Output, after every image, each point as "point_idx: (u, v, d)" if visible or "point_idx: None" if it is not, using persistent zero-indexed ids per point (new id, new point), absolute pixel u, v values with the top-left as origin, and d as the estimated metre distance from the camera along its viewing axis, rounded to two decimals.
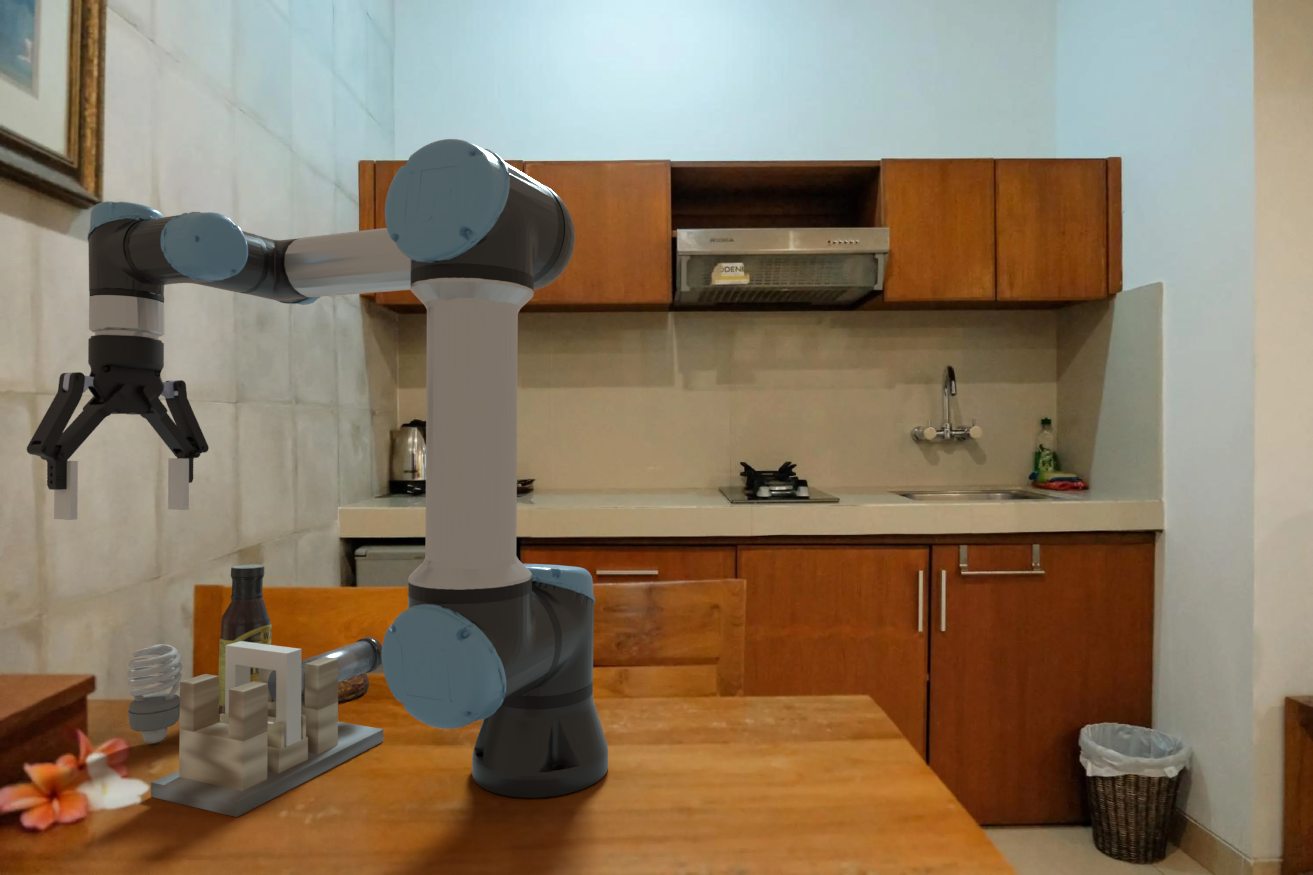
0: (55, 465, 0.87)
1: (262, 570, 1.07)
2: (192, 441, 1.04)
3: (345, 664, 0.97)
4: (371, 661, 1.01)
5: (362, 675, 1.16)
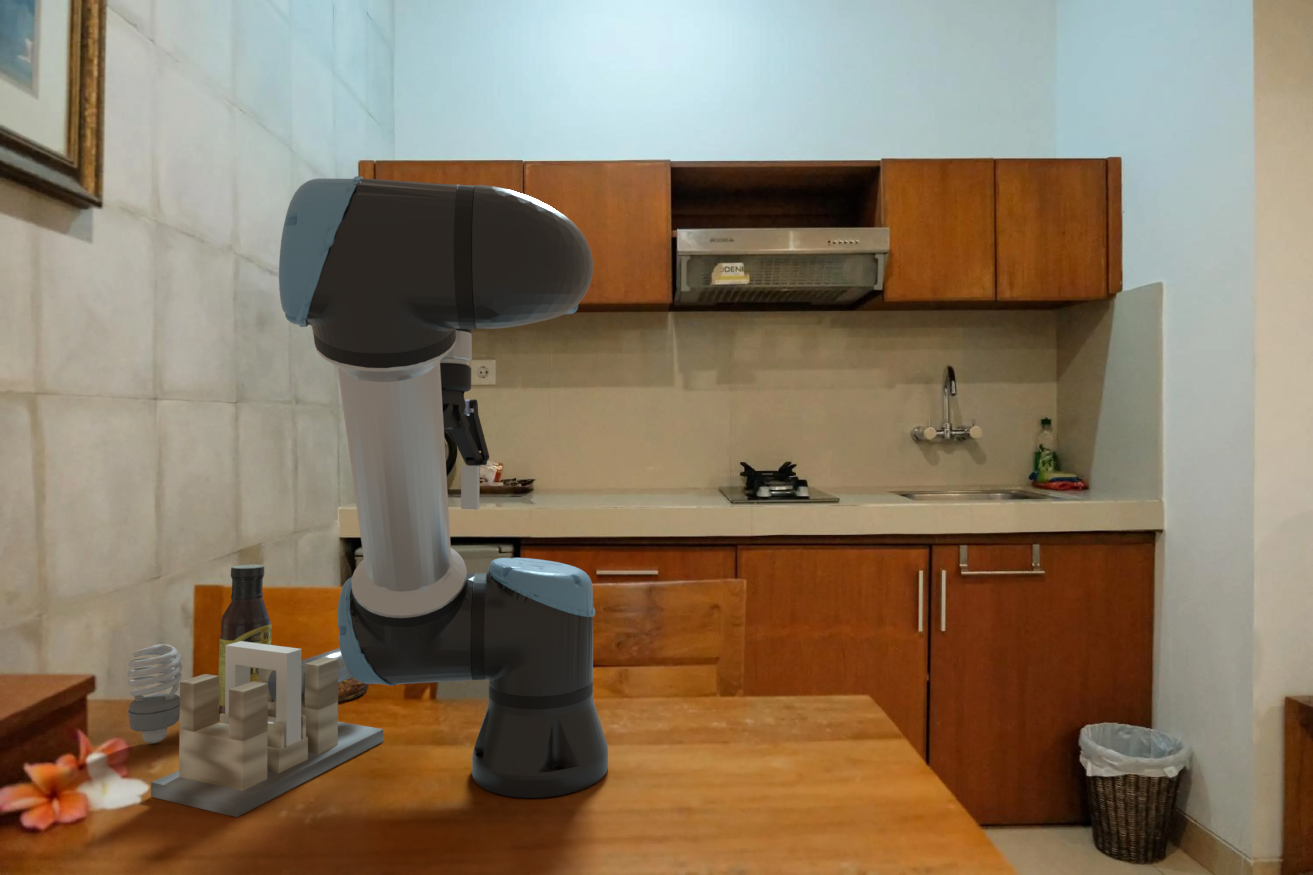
0: None
1: (262, 570, 1.07)
2: None
3: None
4: None
5: None
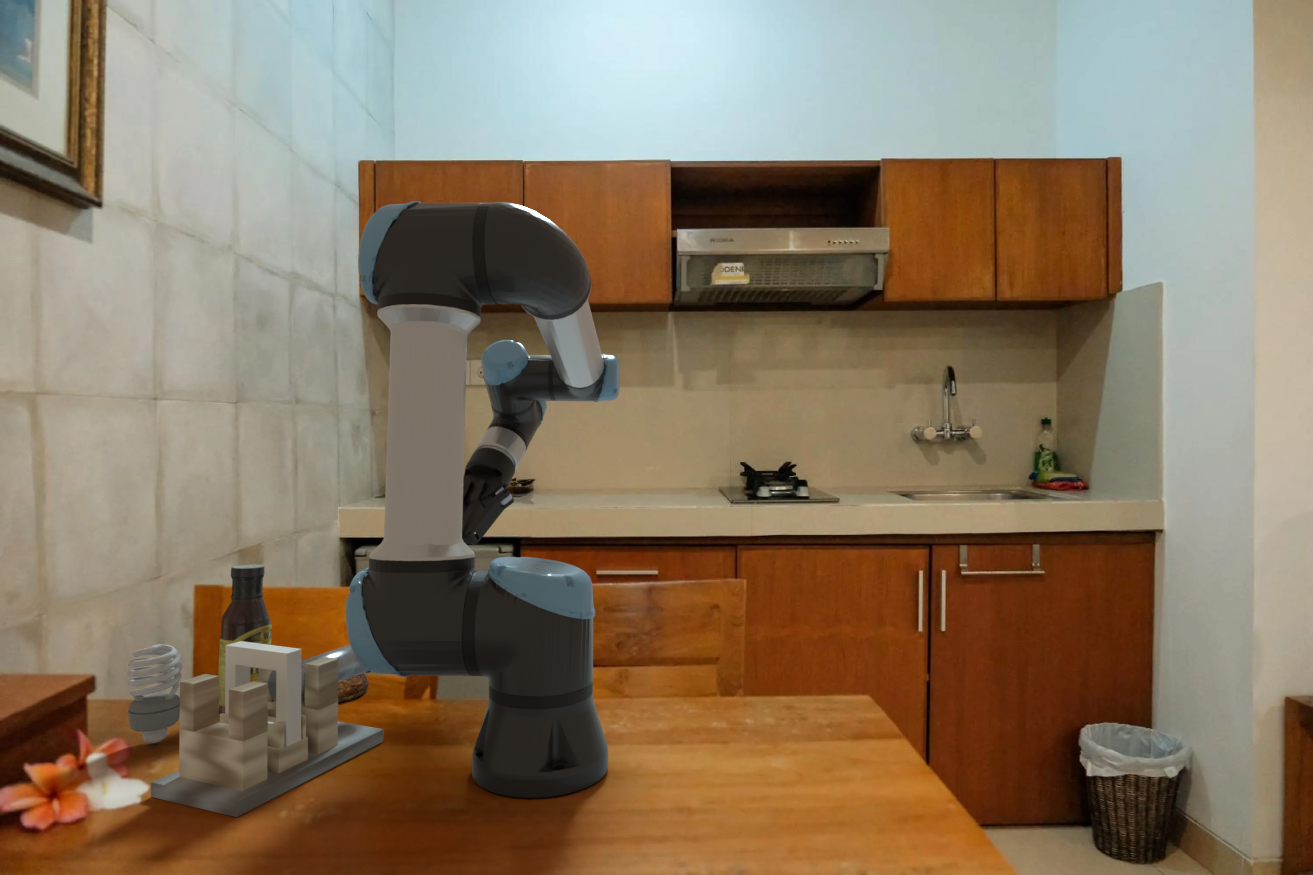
0: None
1: (262, 570, 1.07)
2: (478, 536, 1.20)
3: (345, 664, 0.97)
4: None
5: (361, 676, 1.16)
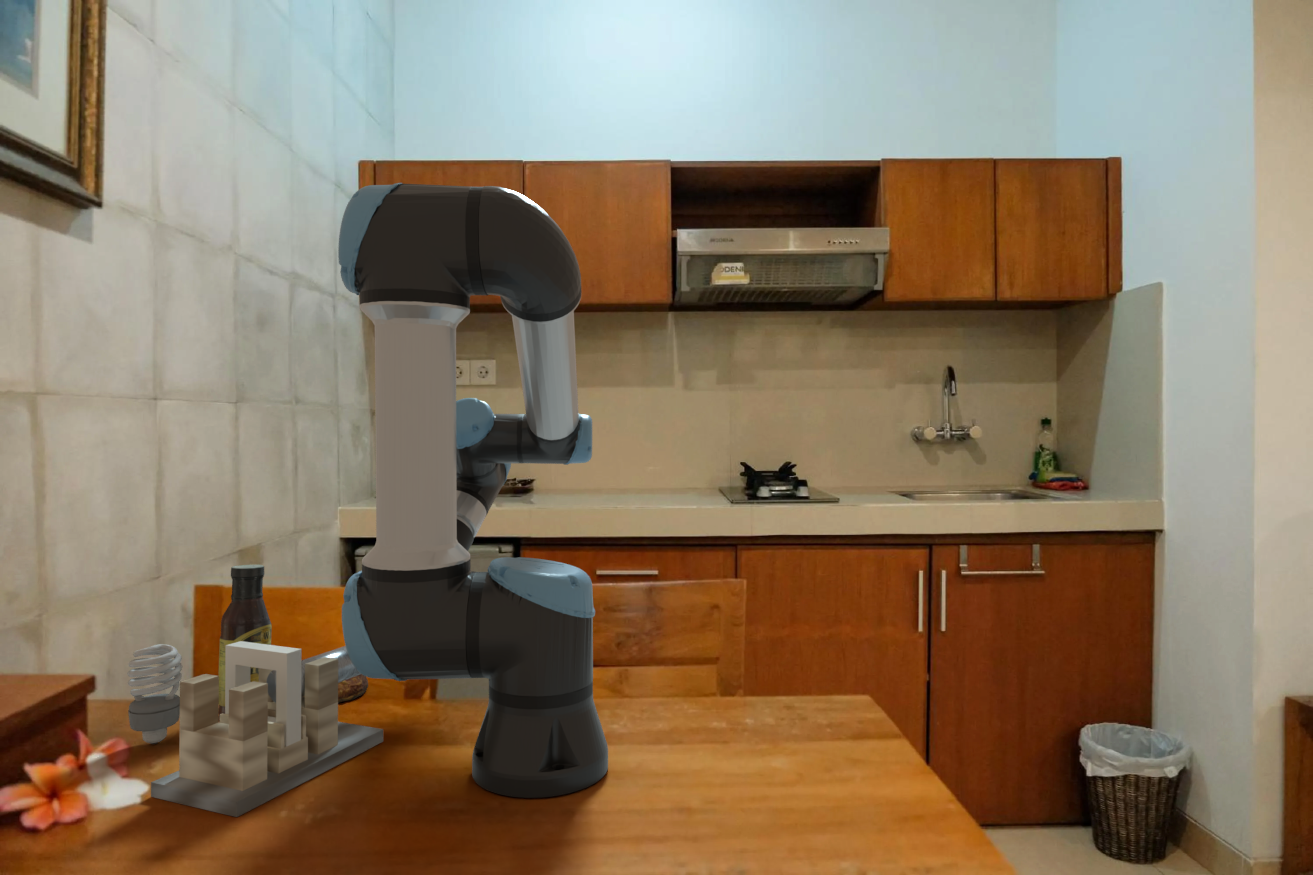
0: None
1: (262, 570, 1.07)
2: None
3: (344, 664, 0.97)
4: None
5: (361, 676, 1.16)
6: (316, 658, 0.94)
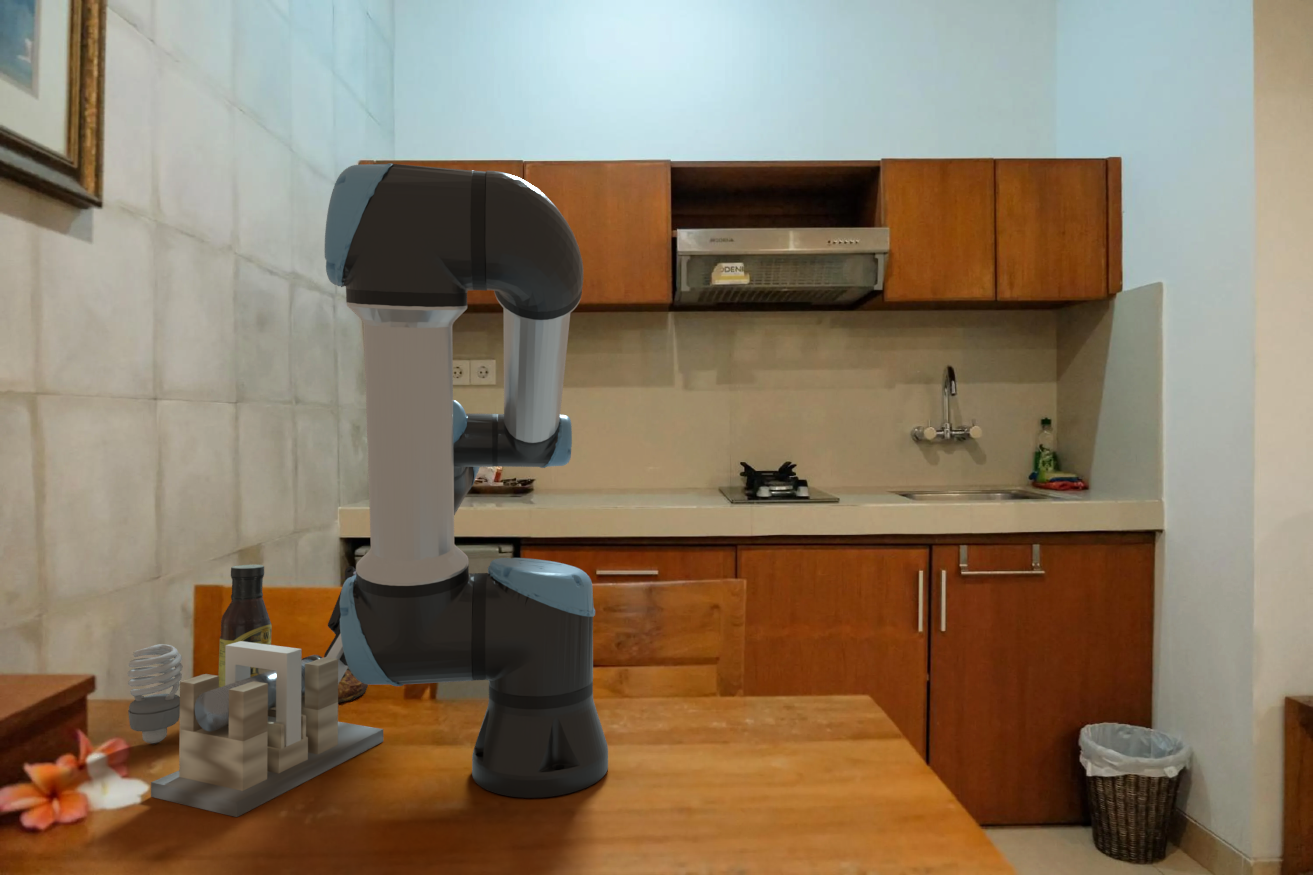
0: (334, 638, 1.00)
1: (262, 570, 1.07)
2: None
3: None
4: None
5: None
6: (252, 679, 0.86)
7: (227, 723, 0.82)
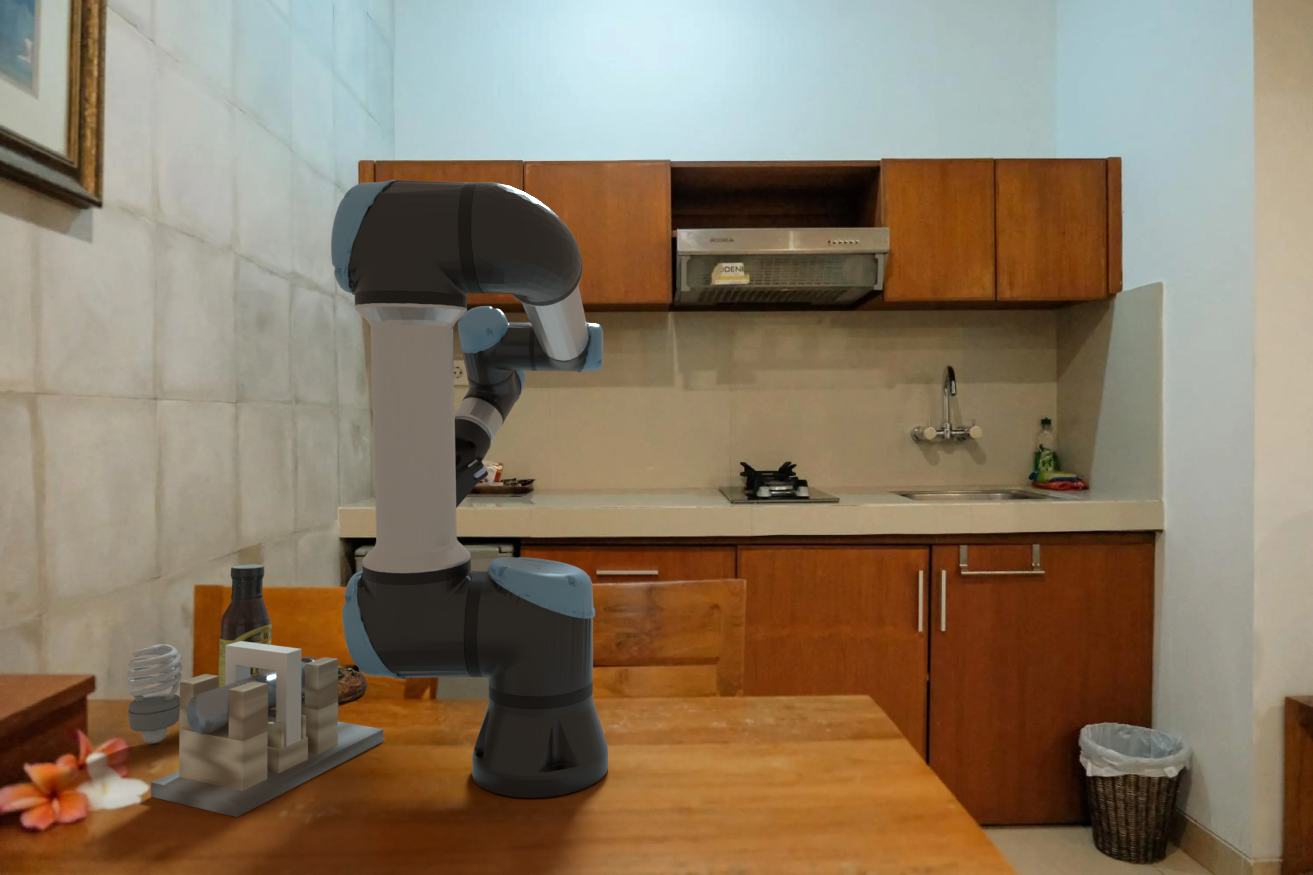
0: None
1: (262, 570, 1.07)
2: None
3: None
4: None
5: (360, 677, 1.15)
6: (245, 682, 0.85)
7: (219, 726, 0.81)
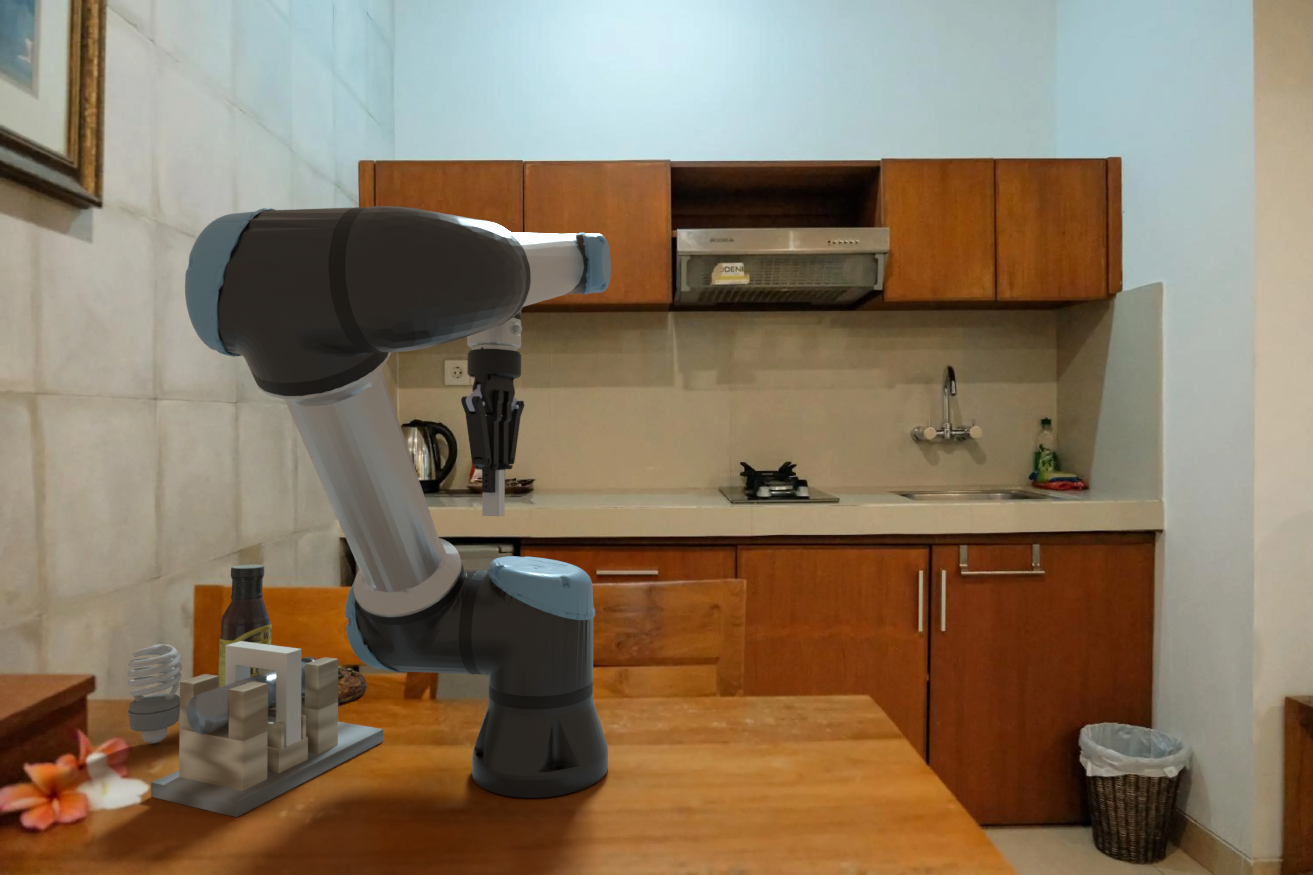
0: None
1: (262, 570, 1.07)
2: None
3: None
4: None
5: (359, 677, 1.15)
6: (245, 682, 0.85)
7: (219, 726, 0.81)
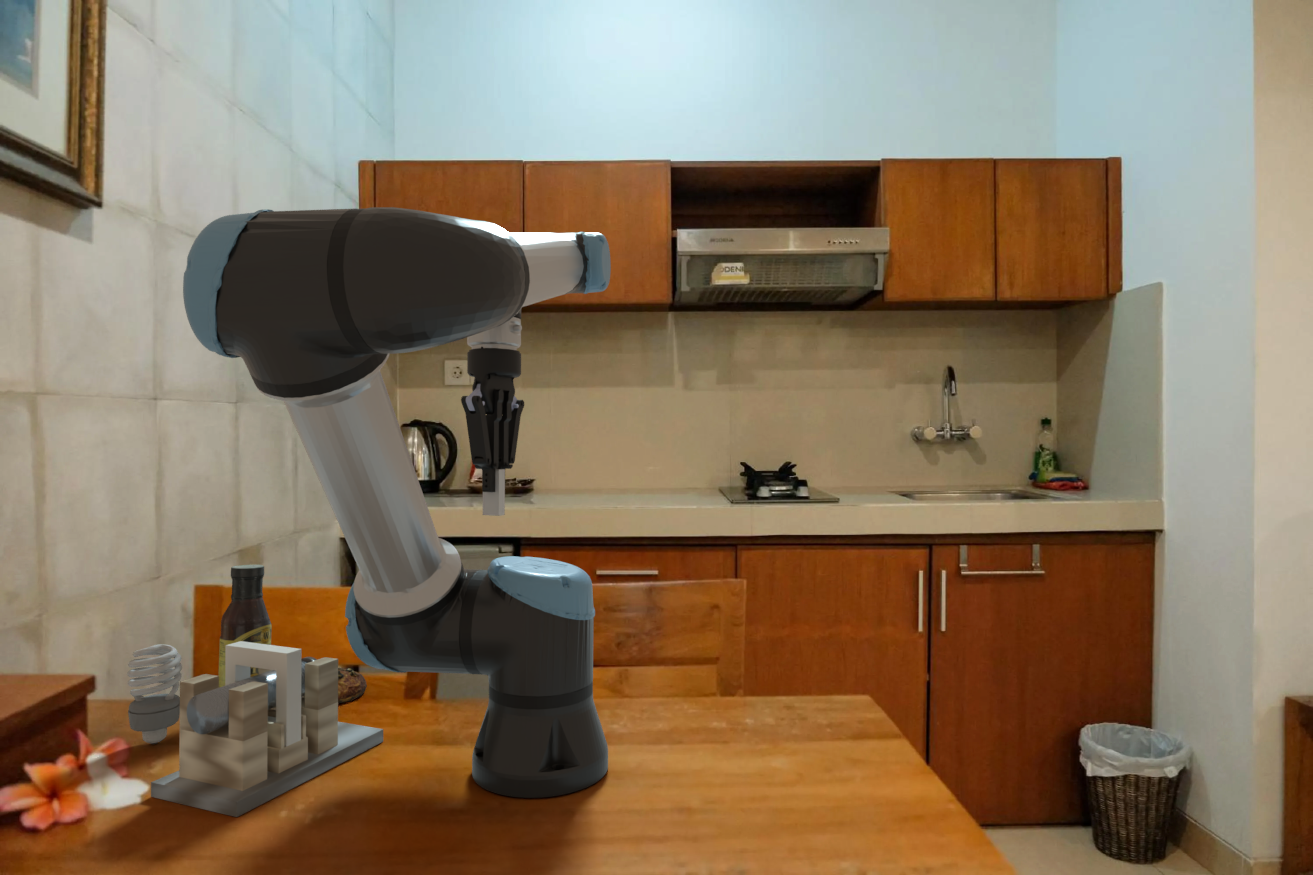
0: None
1: (262, 570, 1.07)
2: None
3: None
4: None
5: (359, 677, 1.15)
6: (245, 682, 0.85)
7: (219, 726, 0.81)
